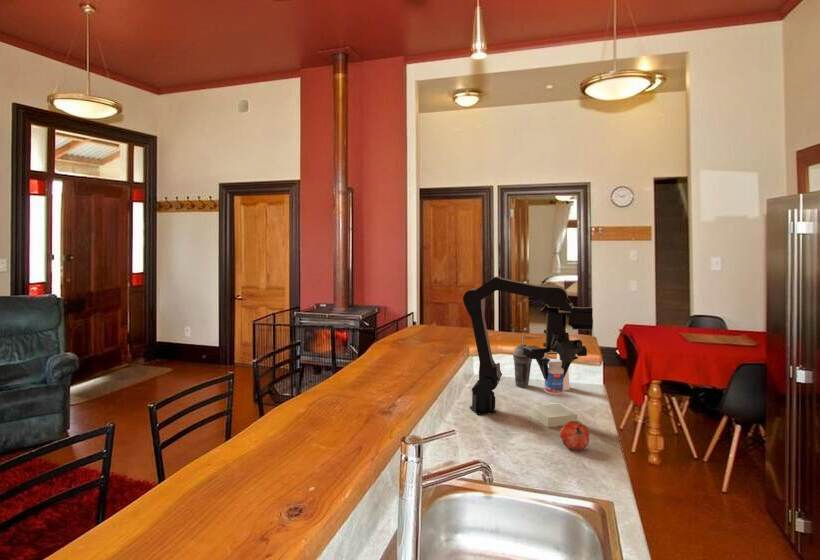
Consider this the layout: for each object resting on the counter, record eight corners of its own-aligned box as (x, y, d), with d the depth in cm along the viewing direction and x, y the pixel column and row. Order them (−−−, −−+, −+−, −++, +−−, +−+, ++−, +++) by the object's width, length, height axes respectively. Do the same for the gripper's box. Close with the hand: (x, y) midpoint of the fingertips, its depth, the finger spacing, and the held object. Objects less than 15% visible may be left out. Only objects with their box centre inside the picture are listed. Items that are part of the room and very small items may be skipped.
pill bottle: (552, 395, 146) (554, 363, 145) (540, 390, 151) (541, 359, 150) (566, 393, 148) (568, 361, 147) (554, 388, 153) (555, 357, 152)
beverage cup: (512, 388, 181) (514, 334, 179) (511, 382, 188) (513, 330, 186) (532, 389, 179) (534, 335, 177) (531, 383, 186) (533, 331, 184)
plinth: (547, 427, 145) (547, 417, 145) (530, 414, 154) (530, 405, 154) (576, 423, 148) (577, 414, 147) (558, 412, 157) (558, 402, 157)
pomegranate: (556, 450, 134) (561, 442, 126) (558, 424, 138) (564, 414, 130) (584, 456, 133) (592, 448, 124) (585, 430, 136) (593, 419, 128)
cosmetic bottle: (549, 385, 184) (552, 328, 181) (564, 384, 185) (566, 327, 183) (558, 391, 178) (561, 331, 176) (573, 390, 179) (576, 330, 177)
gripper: (542, 335, 137) (540, 389, 139) (599, 332, 142) (597, 384, 144) (523, 327, 148) (521, 377, 150) (577, 324, 153) (575, 373, 155)
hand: (554, 378), depth 149 cm, fingers closed on pill bottle, 5 cm apart
